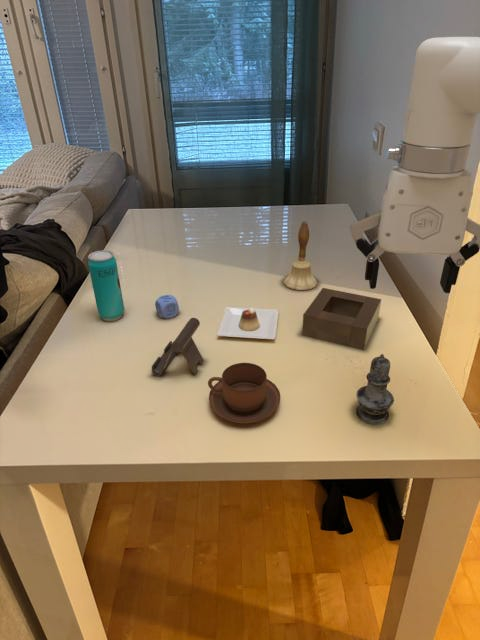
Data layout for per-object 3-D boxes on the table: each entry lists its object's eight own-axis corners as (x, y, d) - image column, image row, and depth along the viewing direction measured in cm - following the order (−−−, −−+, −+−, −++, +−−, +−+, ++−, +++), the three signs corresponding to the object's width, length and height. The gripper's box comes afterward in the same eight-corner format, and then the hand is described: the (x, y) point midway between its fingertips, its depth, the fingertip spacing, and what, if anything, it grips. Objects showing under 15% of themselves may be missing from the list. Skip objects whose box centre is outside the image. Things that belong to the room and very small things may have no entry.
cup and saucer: (213, 434, 73) (211, 404, 70) (206, 386, 84) (204, 358, 80) (287, 424, 75) (289, 395, 72) (271, 378, 85) (272, 351, 82)
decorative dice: (172, 308, 108) (170, 292, 106) (179, 315, 105) (178, 299, 103) (156, 313, 106) (154, 297, 104) (163, 320, 103) (161, 305, 101)
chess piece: (397, 422, 75) (410, 362, 69) (363, 428, 74) (373, 368, 68) (380, 398, 80) (390, 340, 74) (348, 404, 79) (356, 345, 73)
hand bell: (298, 273, 123) (301, 214, 114) (323, 282, 118) (328, 222, 109) (277, 283, 118) (278, 222, 110) (302, 294, 113) (306, 231, 104)
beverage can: (128, 318, 104) (118, 256, 97) (103, 325, 102) (90, 262, 94) (120, 307, 109) (110, 247, 101) (96, 314, 106) (83, 253, 98)
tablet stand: (171, 349, 94) (166, 313, 89) (207, 354, 92) (205, 318, 88) (152, 375, 87) (146, 337, 82) (191, 382, 85) (188, 344, 80)
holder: (378, 319, 102) (381, 299, 100) (364, 349, 92) (367, 328, 90) (321, 306, 107) (322, 287, 105) (302, 335, 97) (303, 314, 95)
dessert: (216, 340, 96) (215, 320, 94) (226, 310, 106) (225, 292, 104) (274, 343, 95) (275, 323, 92) (278, 313, 105) (279, 295, 102)
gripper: (359, 164, 53) (344, 295, 62) (521, 167, 51) (481, 303, 60) (356, 150, 60) (343, 271, 69) (500, 152, 57) (467, 278, 66)
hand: (407, 286), depth 64 cm, fingers open, 9 cm apart
